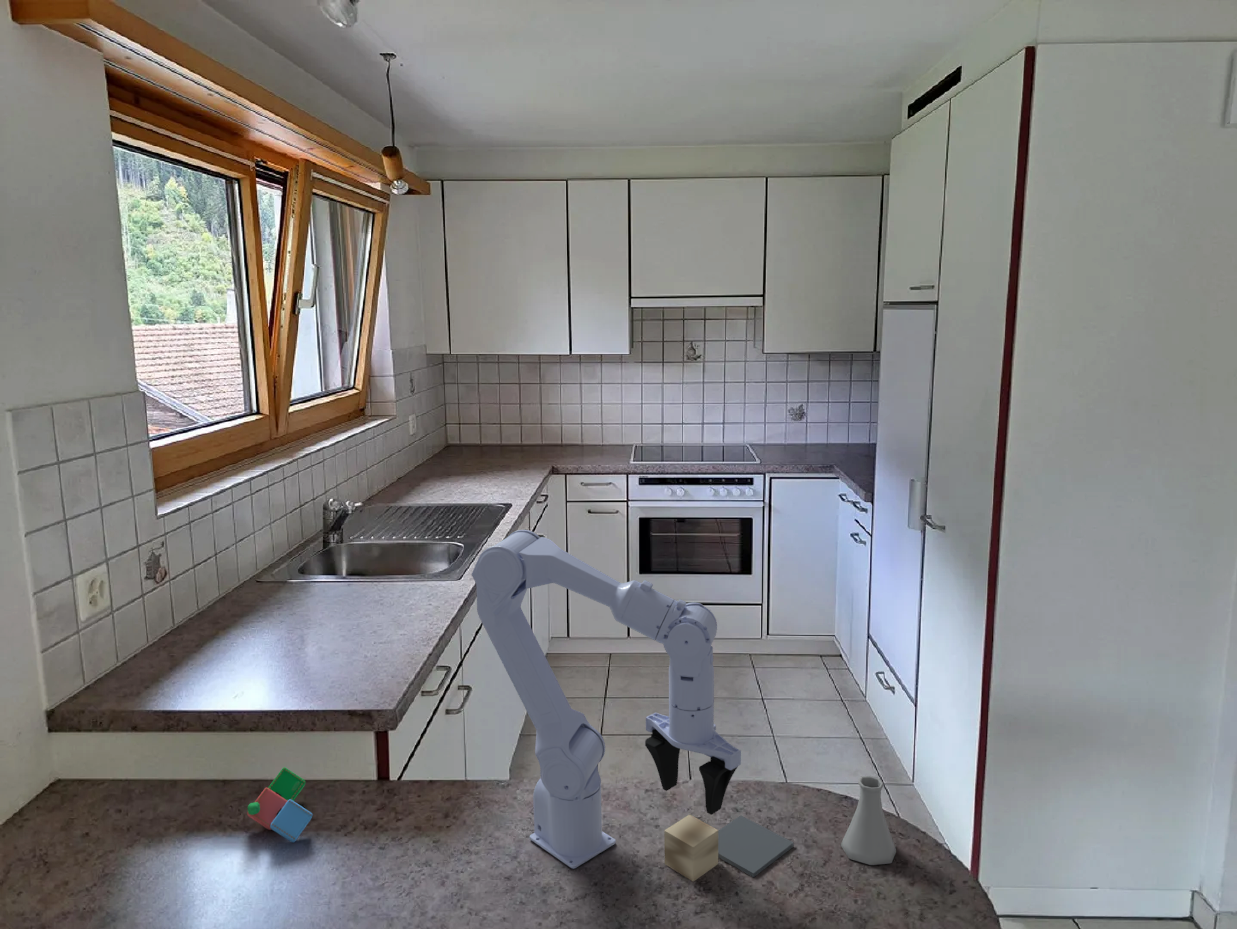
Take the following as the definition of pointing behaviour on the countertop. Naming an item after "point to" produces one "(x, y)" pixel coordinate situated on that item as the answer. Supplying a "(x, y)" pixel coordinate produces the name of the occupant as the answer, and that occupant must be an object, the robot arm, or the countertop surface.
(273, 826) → the building blocks
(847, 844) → the flask
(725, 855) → the coaster
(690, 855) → the block
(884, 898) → the countertop surface
